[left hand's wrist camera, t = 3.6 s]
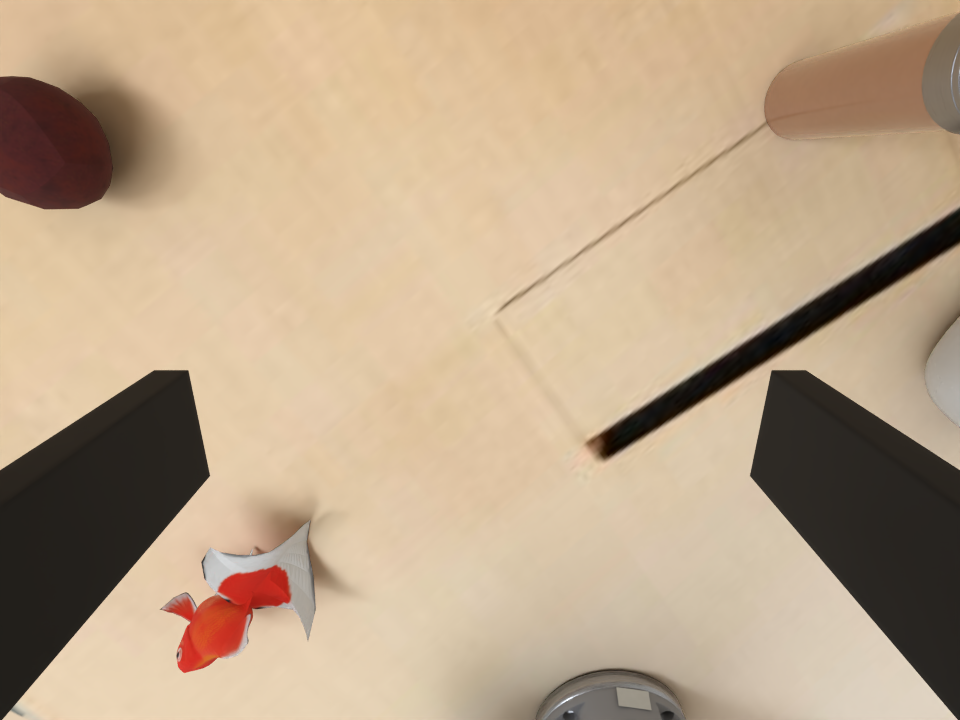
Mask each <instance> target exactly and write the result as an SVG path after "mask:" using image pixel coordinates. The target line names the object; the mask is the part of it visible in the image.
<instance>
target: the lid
mask: <svg viewBox="0 0 960 720" xmlns="http://www.w3.org/2000/svg"><path fill="white" fill-rule="evenodd" d="M922 96H923V101H924V104H925V107H926V110H927V112H928V113H929V115H930V117H931V118H932V119H933V120H934V122H935V123H937V124H938V125H939V126H940V127H941V128H943V129H945V130H947V131H949V132H952V133H955V134H960V13H959V14H957V15H956V16H955V17H954V18H953V19H952V20H951V21H950V22H949V23H948V24H947V25H946V27H945V28H944V29H943V30H942V32H941V33H940V34H939V36H938V37H937V39H936V41H935V42H934V44H933V46H932V48H931V50H930V52H929V54H928V57H927V59H926V63H925V66H924V70H923V76H922Z"/></svg>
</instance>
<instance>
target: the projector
mask: <svg viewBox="0 0 960 720" xmlns="http://www.w3.org/2000/svg"><path fill="white" fill-rule="evenodd" d="M925 384H926V387H927V390H928V393H929V395H930V397H931V399H932V401H933V402H934V403H935V405H936V406H937V407H938V408H939V409H940V410H941V411H942V412H943V413H944V414H945V415H946V416H947V417H948V418H949V419H950V420H951V421H952V422H953V423H954V424H956V425H957V426H958V427H959V428H960V316H959V317H958V319H957V320H956V321H955V322H954V323H953V324H952V325H951V327H950V328H949V329H948V330H947V331H946V333H945V334H944V335H943V336H942V338H941V339H940V340H939V342H938V343H937V344H936V346H935V348H934V349H933V351H932V353H931V354H930V356H929V358H928V361H927V363H926V367H925Z"/></svg>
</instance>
